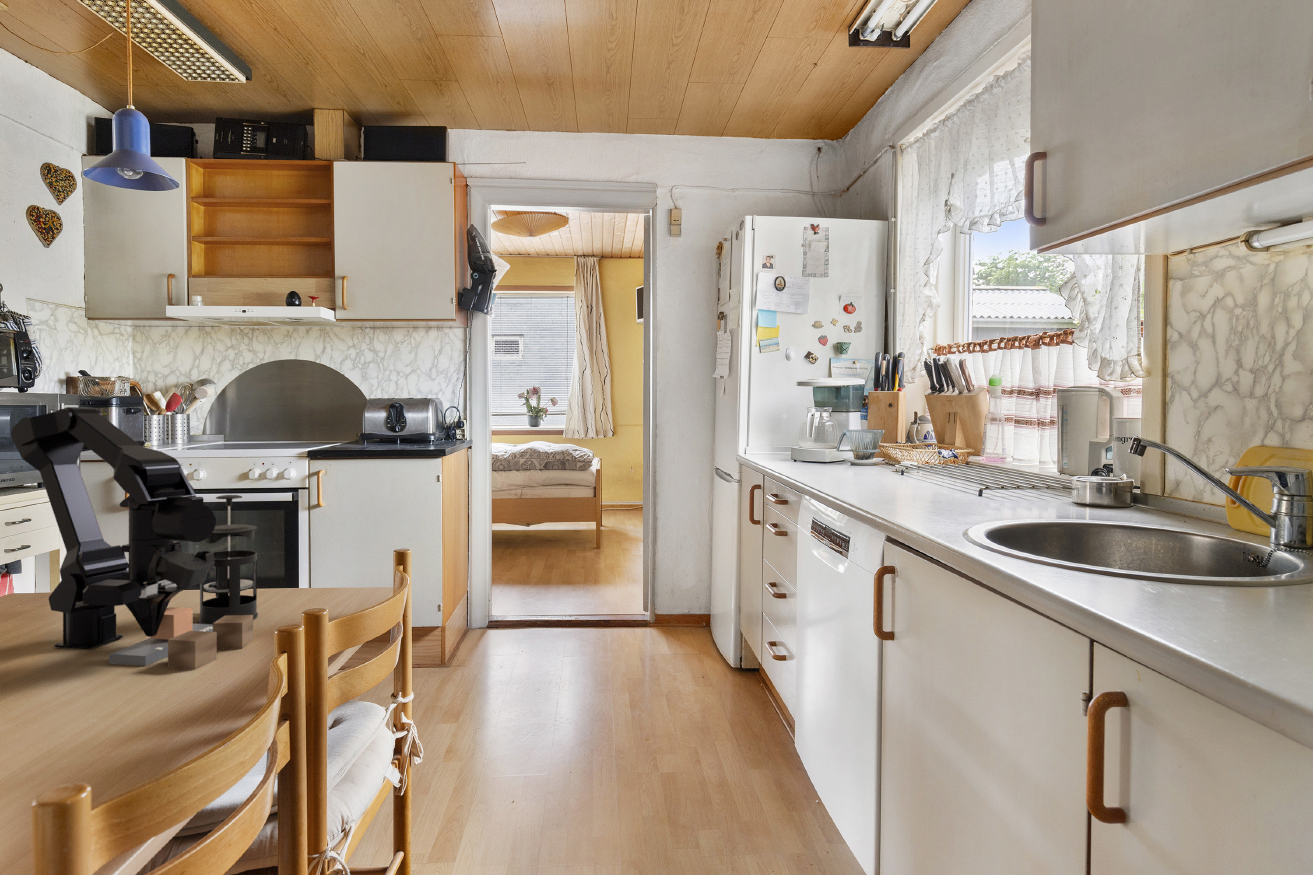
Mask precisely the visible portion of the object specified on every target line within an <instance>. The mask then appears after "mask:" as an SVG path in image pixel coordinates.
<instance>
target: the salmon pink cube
mask: <svg viewBox="0 0 1313 875" xmlns="http://www.w3.org/2000/svg"><path fill="white" fill-rule="evenodd" d="M193 612H194V610H193V608H192V607H191V608H190V607H172V606H169V607H167V608H166V611H165V613H164V616H163V619H162V621H161V624H160V626H159V629H158V632H157V634H156V635H155V636H152V637H150V638H151V639H171V638H173V637H176V636H178V635H181V634H183V633H186V632H188V631H193V624H194V623H193V614H194V613H193Z"/></svg>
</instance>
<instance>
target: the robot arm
mask: <svg viewBox="0 0 1313 875" xmlns="http://www.w3.org/2000/svg"><path fill="white" fill-rule="evenodd" d="M10 436H11V440H12V442H13V444H15V446H16V449H17V451H18V453H19V455H20V457H21V459H22V460H24V461H25V462H26V463H28V464H29V465H30V466H31V467H33V468H34V469H35V470H36V471H38V472H39V473H40V477H41V479H42V482H43V485H44V489H45V492H46V494H47V497H48V500H49V503H50V506H51V509H52V512H53V514H54V517H55V521H56V524H57V527H58V530H59V533H60V536H61V538H62V542H63V544H64V548H65V550H66V551H65V552H66V553H65V556H64V559H63V562H62V563H61V565H60V569H59V573H60V574H59V575H60V578H61V580H60V581H59V582H58V584H57V585H56V587H55V588H54V590H53V591H52V592H51V593H50V595H49V596H48V602H49V607H50V608H49V609H50V610H51V611H52V612H59V613H62V639H63V640H62V641H59V642H56V643H54V644H53V648H59V649H60V648H61V649H76V650H92V649H95V648H98V647H100V646H103V645H106V644H109V643H111V642H114V641H117V640H119V639H122V638H123V637H124V636H123V634H121V633H120V634H119V633H117V613H116V611H115V607H119V606H123V605H124V606H125V607H127V609H128V610H129V612H130V613H131V614H132V616H133V617H134V619H135V621H136V622H137V624H138V626H140V628H141V630H142V632H143V633H144V635H145V636H146V637H149V638H151V637H152V636H155V635H156V634H157V632H158V629H159V626H160V624H161V621H162V619H163V616H164V613H165V611H166V608H168V606H169V603H170V602H171V600H172V599H173V598H174V597H175V596H176V595H178V594H179V593H180V592H183V591H184V590H185V589H189V588H192V587H194V586H196V585H198V584H199V585H200V584H202V583H203V584H204V583H205V581H206V580H207V579H210V578H211V572H215V571H216V567H214V564H215V560H216V559H214V552H215V551H212V550H210V549H203V550H199V551H197V552H196V553H195V554H194V553H193V552H191V553H187V552H183V549H182V548H183V545H182V544H181V542H189V543H190V542H191V543H200V542H203V540H205V539H207V538H208V537H209V536H210V535H211V534H212V532H213V531H214V528H215V526H217V524H216V523H217V517H216V516H215V514H214V512H213V510H212V509H211V508H210V507H209V506H207V505H205V504H204V497H203V496H197V495H196V493H195V491H194V487H193V486H192V485H191V483H190V481H189V480H188V477H187V476H186V474H185V472H184V470H183V468H182V467H181V464H180V462H179V461H178V460H177V458H175V457H174V456H172V455H169V454H167V453H165V452H163V451H161V450H156V449H152V448H148V447H144V446H143V445H141V444H139V443H138V442H137V441H135V440H134V439H133V438H132V437H130V436H129V435H128V434H126V433H125V432H124V431H123V430H121V429H120V428H119V427H117V426H116V425H114V424H113V423H112V422H111V421H110V420H108V419H107V418H105V417H104V416H103V414H102V412H101V411H100V410H99V409H98V408H94V407H88V406H87V407H82V406H81V407H80V406H79V407H78V406H72V407H71V406H69V407H68V406H67V407H64V408H59V409H58V410H56V411H53V412H48V413H44V414H40V415H35V416H32V417H31V416H30V417H29V416H25V417H22V418H21V419H20V420H19V421H18V422H17V423H16V424H14V425H13V426H12V429H11V435H10ZM84 446H85V447H86V448H88V449H90V451H92V452H93V453H94V454H95V455H97V456H98V457H99V458H101V459H102V460H103V461H105V462H106V463H107V464H108V465H109V466H110V467H111V468H112V470H113V476H112V477H113V480H114V481H115V482H116V483H117V484H118V486H119V487H120V488H121V489H122V490H123V491H124V492H125V493H126V494H128V496H127V497H126V498H124V499H123V500H122V501H120V503H119V507H120V508H125V509H126V508H127V509H128V543H126V544H123V545H110V544H109V543H108V542H107V541H105V539H104V537H103V536H104V535H103V534H102V532H101V529H100V526H99V523H98V519H97V516H96V513H95V511H94V508H93V505H92V502H91V499H90V496H89V493H88V490H87V488H86V485H85V481H84V478H83V476H82V472H81V470H80V468H79V464H78V460H79V458H80V456H81V453H82V451H83V448H84ZM125 553H128V560H127V556H126V554H125Z"/></svg>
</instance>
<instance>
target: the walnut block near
mask: <svg viewBox="0 0 1313 875" xmlns="http://www.w3.org/2000/svg"><path fill="white" fill-rule="evenodd" d="M217 651H218V650H217V632H204V631H188V632H186V633H183V634H181V635H178V636H176V637H173V638H171V639H168V657H167V669H177V670H179V669H180V670H192V671H195V670H196V671H197V670H198V669H200V668H202V667H204V666H206V665H208V664H211V663H212V662H215V661H217V653H218V652H217Z"/></svg>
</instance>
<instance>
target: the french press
mask: <svg viewBox="0 0 1313 875" xmlns="http://www.w3.org/2000/svg"><path fill="white" fill-rule="evenodd" d="M242 498H243V496H242V495H239V494H223V495H219V496H216V497H215V499H216V500H225V503H226V504H225V505H226V507H227V524H221V525H215V528H214V531H213V532H212V534H211V535H210V536H209V537H208V538H207V539H205V540H203V541H202V542H203V543H204V544H210V545H212V544H216V543H218V542H219V541H220V540H222V539H223V538H227V550H226V549H225V550H217V551H213V552H214V559H215V564H214V567H215V581H214V582H212V581H211V582H209V583H206V584H204V583H202V584H200V583H199V619H198V624H212V625H213V623H214V622H216V621H217V620H219V619H220V618H222V617H223V616H231V615H253V621H254V620H256V619H257V618H258V616H259V613H258V611H257V609H258V608H257V607H258V605H257V602H258V601H257V599H258V598H257V592H258V591H257V584H258V583H257V582H258V580H257V578H258V573H257V572H258V570H257V569H258V553H257V551H255V550H247V549H243V550H242V549H235V550H234V549H233V550H232V549H231V537H245V538H247V539H248V540H251V541H253V540H255V531H256V530H258V526H256V525H251V524H237V523H236V524H234V523H232V524H231V507H233V500H235V499H242ZM252 563H253V564H252ZM248 564H252V565H253V567H252V572H253V573H252V576H253V577H252V578H253V579H252V580H251V579H241V566H243V565H248ZM252 588H253V589H252ZM251 589H252V590H253V592H252V595H245V594H244V595H243V594H241V592H243V591H247V590H251ZM204 593H208V594H215V597H213V598H208V599H206V600H204Z"/></svg>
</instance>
